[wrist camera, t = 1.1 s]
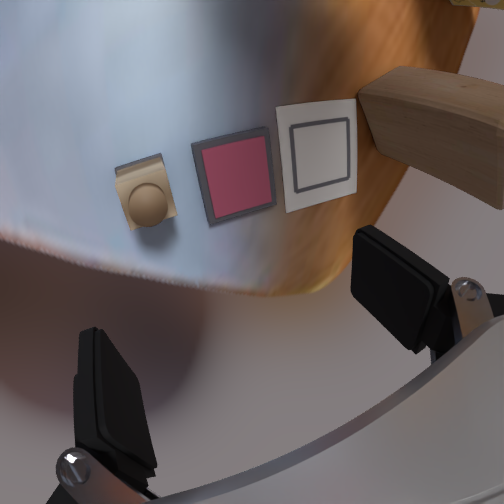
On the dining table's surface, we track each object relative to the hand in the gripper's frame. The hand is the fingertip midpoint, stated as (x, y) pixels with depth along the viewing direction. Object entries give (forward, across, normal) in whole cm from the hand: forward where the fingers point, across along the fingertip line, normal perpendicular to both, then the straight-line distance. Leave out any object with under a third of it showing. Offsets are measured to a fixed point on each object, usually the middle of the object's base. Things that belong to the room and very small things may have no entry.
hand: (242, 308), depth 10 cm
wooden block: (+22, -30, -2) cm, 37 cm away
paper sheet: (+22, -18, +3) cm, 29 cm away
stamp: (+23, +2, +1) cm, 23 cm away
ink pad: (+23, -7, +3) cm, 24 cm away
